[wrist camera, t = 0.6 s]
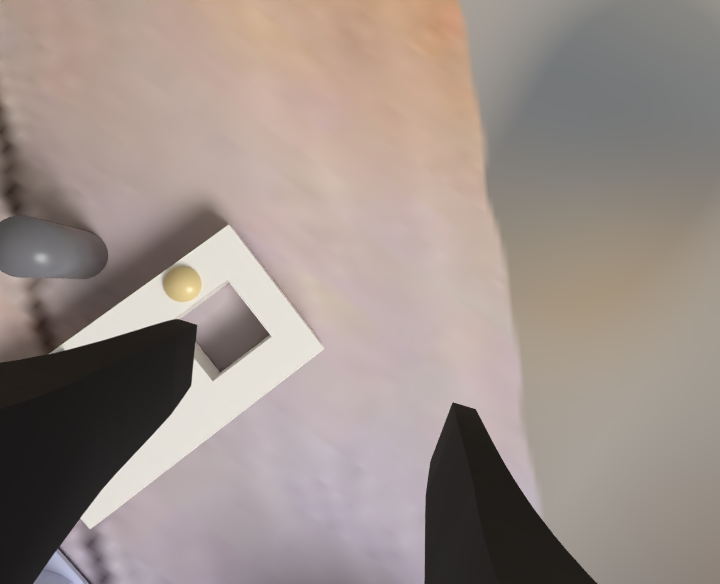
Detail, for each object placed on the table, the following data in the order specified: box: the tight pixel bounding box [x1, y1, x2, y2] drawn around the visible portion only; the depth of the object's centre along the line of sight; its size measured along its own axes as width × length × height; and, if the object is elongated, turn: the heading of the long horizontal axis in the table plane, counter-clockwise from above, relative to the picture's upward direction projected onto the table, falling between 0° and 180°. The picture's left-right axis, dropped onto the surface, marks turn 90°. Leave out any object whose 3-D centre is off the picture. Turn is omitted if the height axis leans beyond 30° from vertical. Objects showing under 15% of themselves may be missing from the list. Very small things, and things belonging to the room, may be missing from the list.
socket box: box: [49, 225, 324, 529], centre depth 30 cm, size 18×10×3 cm, turn 127°
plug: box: [0, 216, 108, 279], centre depth 28 cm, size 3×3×7 cm
